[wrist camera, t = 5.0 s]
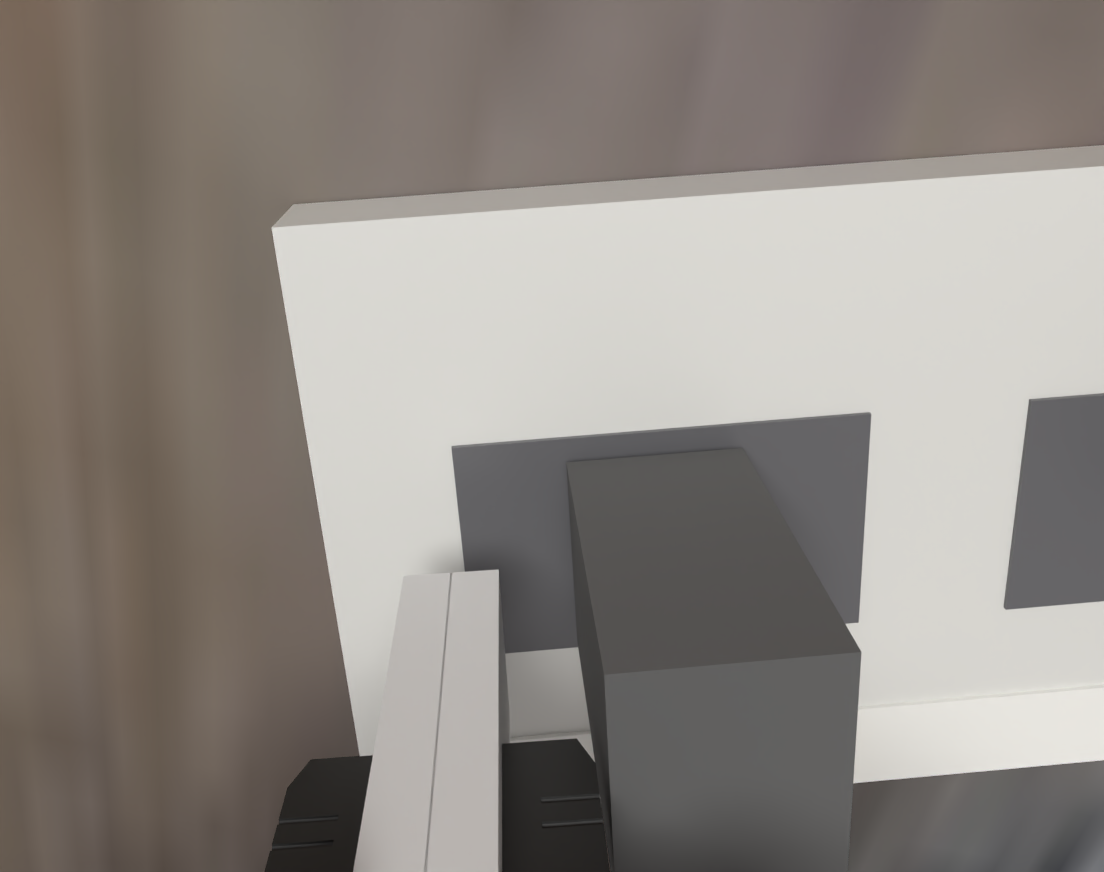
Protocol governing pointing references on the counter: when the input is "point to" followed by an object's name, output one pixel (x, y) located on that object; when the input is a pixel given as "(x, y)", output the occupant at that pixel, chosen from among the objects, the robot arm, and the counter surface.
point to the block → (709, 670)
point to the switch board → (736, 418)
